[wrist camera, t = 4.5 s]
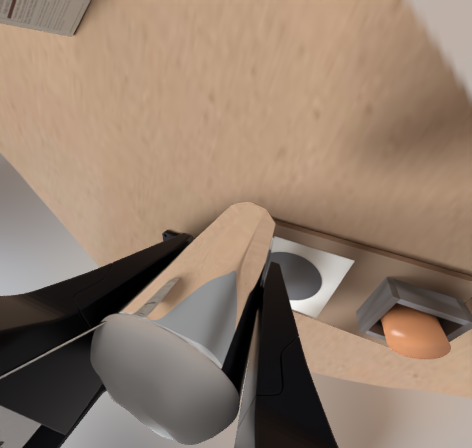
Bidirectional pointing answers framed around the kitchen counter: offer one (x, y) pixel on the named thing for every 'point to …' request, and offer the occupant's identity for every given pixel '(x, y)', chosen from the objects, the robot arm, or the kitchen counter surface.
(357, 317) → the board
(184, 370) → the milkshake
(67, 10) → the supplement box
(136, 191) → the kitchen counter surface
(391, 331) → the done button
